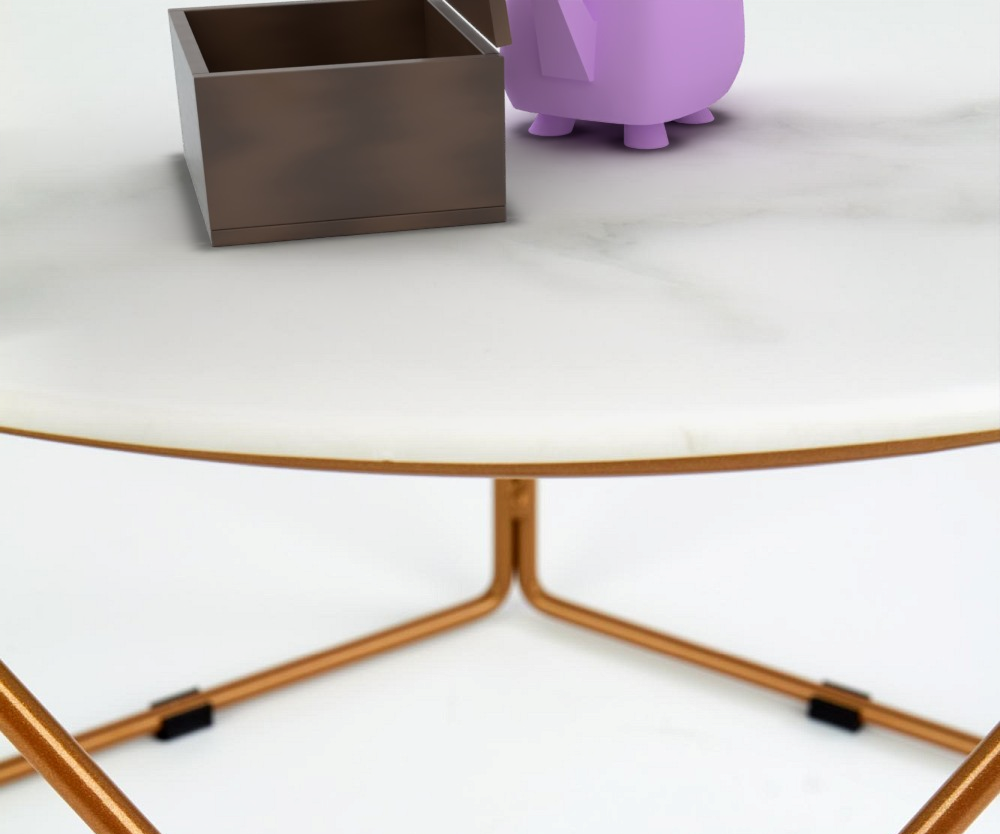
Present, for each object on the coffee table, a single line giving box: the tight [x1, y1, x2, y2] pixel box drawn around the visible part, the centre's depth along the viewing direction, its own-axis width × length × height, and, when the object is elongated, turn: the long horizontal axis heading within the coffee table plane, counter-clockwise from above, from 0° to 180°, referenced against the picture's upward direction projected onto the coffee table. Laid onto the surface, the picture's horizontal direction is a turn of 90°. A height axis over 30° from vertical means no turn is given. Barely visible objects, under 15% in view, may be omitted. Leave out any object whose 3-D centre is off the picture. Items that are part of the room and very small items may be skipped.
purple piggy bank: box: [498, 0, 746, 150], centre depth 97 cm, size 20×12×13 cm, turn 150°
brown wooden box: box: [167, 0, 507, 248], centre depth 88 cm, size 15×17×8 cm
